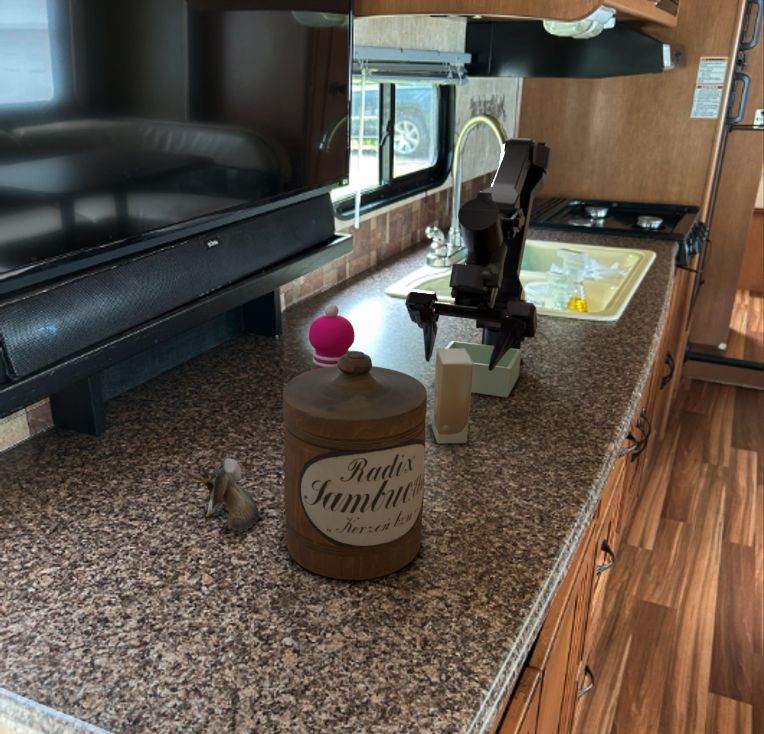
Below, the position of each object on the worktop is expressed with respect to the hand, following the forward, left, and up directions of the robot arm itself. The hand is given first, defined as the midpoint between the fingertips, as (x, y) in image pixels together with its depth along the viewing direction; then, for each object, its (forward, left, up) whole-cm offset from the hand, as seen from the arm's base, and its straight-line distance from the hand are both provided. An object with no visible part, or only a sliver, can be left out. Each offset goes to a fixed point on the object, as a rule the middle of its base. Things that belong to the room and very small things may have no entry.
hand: (458, 365), depth 109 cm
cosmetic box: (+1, -2, -10) cm, 10 cm away
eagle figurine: (0, -38, -10) cm, 40 cm away
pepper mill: (-7, -17, -10) cm, 21 cm away
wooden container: (+14, -30, -10) cm, 35 cm away
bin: (-11, +17, -10) cm, 22 cm away
